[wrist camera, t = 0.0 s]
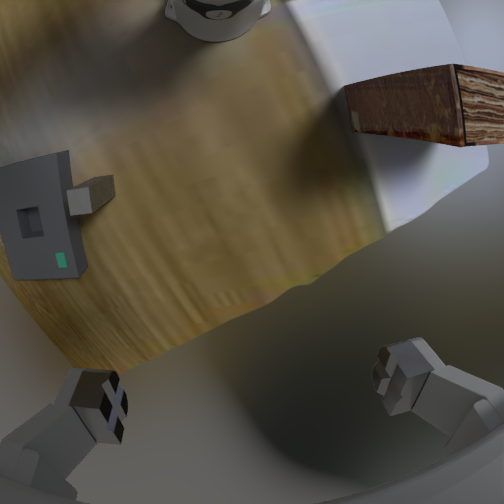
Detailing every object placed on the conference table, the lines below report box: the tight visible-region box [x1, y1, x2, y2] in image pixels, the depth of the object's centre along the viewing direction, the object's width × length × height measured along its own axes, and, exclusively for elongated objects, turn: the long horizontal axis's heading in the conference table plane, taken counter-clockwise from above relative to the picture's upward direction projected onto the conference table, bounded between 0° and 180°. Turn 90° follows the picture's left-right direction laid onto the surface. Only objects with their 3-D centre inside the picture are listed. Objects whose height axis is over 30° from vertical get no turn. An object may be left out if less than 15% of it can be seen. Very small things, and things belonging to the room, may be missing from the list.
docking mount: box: [0, 150, 88, 280], centre depth 48 cm, size 24×18×5 cm
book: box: [344, 64, 504, 147], centre depth 37 cm, size 25×9×30 cm, turn 102°
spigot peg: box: [66, 175, 116, 216], centre depth 45 cm, size 4×4×12 cm
